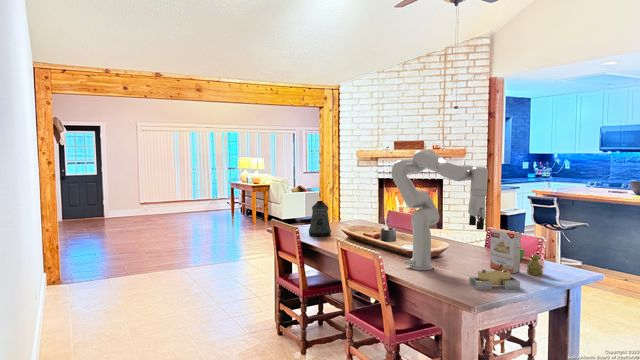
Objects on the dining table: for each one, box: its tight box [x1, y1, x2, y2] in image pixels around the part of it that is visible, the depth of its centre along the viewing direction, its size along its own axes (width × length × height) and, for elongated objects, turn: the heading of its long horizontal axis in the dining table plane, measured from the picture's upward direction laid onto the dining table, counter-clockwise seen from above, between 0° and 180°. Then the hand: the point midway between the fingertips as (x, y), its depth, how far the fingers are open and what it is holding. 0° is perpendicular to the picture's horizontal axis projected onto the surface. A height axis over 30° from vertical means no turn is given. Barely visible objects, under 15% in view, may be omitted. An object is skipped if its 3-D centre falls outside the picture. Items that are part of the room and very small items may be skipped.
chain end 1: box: [468, 276, 493, 291], centre depth 213 cm, size 7×9×4 cm
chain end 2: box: [498, 275, 521, 290], centre depth 214 cm, size 7×9×4 cm
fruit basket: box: [520, 242, 526, 260], centre depth 264 cm, size 11×9×11 cm
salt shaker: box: [526, 253, 544, 277], centre depth 233 cm, size 7×7×10 cm
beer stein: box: [308, 200, 332, 238], centre depth 338 cm, size 16×19×25 cm
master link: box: [477, 269, 511, 286], centre depth 213 cm, size 14×3×7 cm, turn 93°
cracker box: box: [489, 228, 522, 274], centre depth 240 cm, size 14×6×21 cm, turn 33°
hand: (476, 227), depth 224 cm, fingers open, 9 cm apart
